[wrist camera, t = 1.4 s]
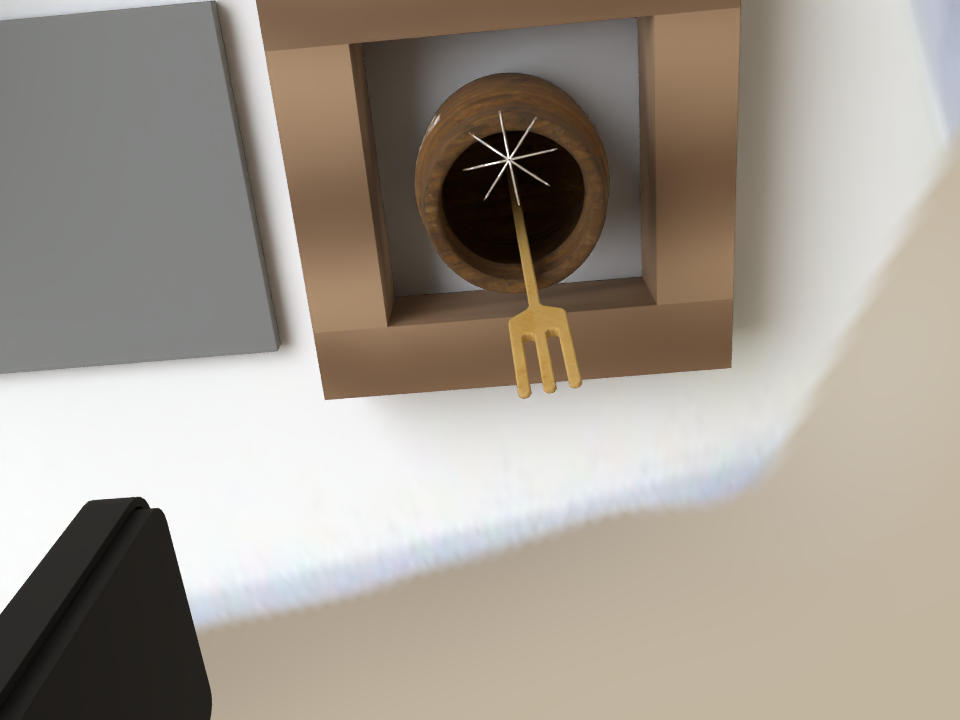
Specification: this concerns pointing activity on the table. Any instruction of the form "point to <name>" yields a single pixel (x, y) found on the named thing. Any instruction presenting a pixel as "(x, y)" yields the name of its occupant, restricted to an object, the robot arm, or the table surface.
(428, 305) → the wooden square frame
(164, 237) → the slate coaster
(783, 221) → the table surface
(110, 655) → the robot arm
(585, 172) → the utensil holder
